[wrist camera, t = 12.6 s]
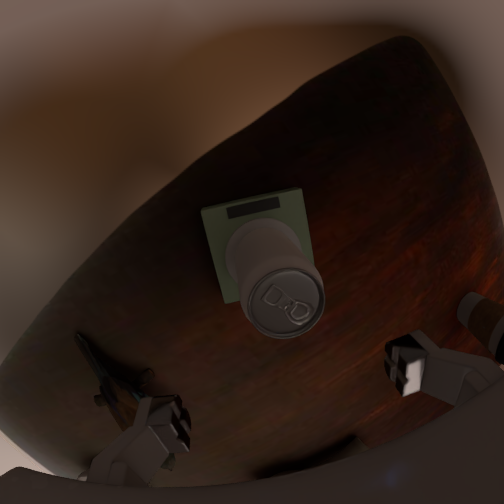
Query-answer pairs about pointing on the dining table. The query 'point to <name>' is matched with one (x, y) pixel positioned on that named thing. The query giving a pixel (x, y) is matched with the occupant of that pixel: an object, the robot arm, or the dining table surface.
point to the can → (277, 285)
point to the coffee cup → (484, 322)
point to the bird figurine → (119, 392)
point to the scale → (249, 219)
